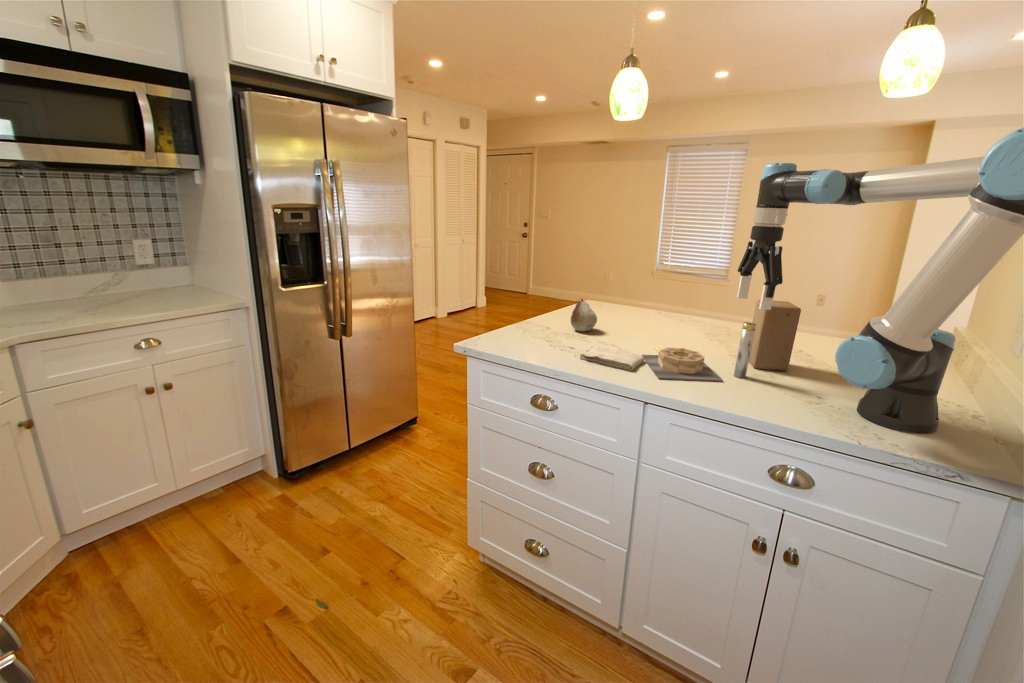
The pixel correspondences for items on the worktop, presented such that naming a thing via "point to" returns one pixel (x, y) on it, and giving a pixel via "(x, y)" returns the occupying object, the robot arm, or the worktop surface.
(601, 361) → the washcloth
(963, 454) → the worktop surface
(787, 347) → the wooden block
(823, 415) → the worktop surface
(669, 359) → the wooden ring socket base
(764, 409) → the worktop surface
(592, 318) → the fruit
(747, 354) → the brass-banded steel rod
